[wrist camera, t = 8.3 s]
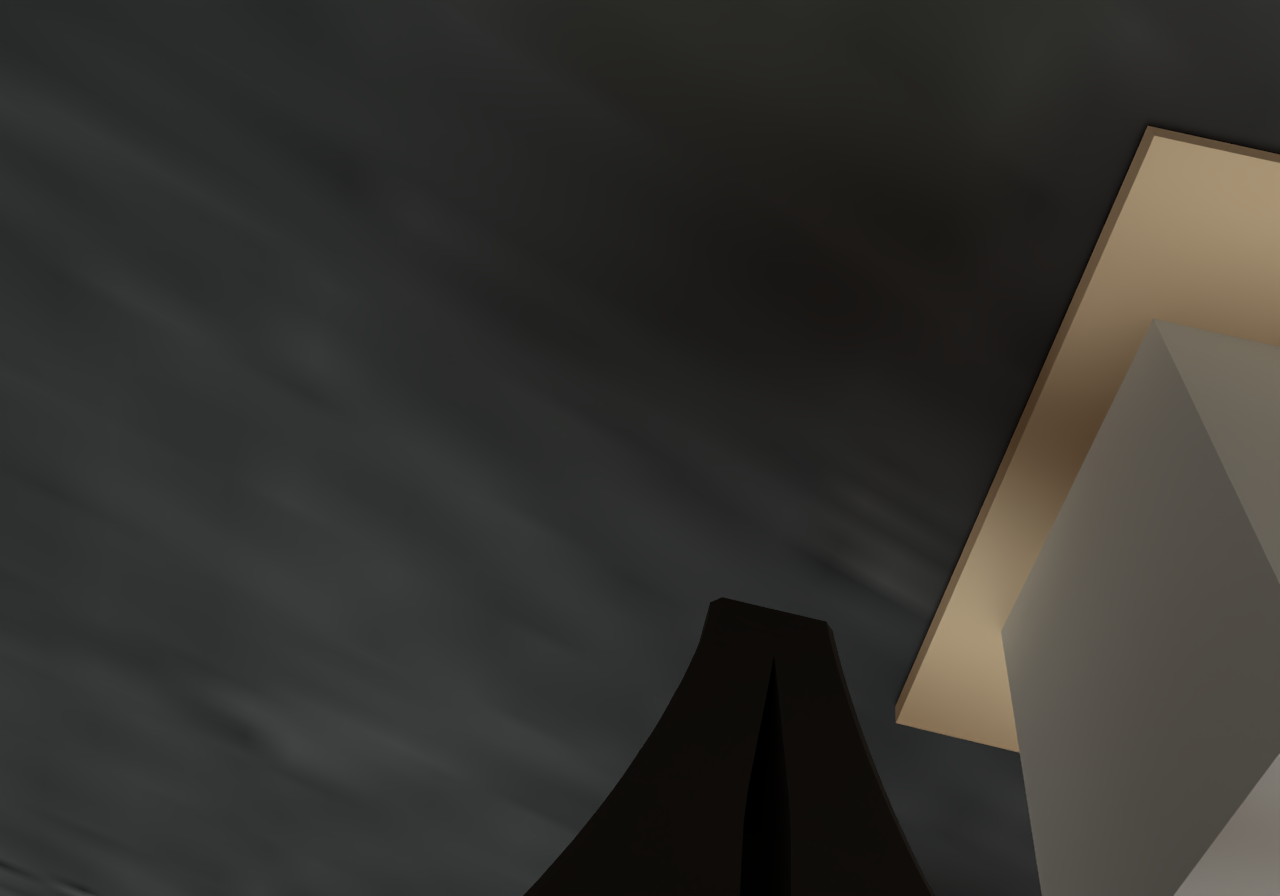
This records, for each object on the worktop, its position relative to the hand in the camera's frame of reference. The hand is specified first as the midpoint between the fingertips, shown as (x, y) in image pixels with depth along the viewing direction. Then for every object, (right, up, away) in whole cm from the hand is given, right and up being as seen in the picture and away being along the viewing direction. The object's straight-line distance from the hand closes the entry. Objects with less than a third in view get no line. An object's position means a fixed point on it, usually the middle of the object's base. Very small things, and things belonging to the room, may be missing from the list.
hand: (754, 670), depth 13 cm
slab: (+7, +2, +4) cm, 8 cm away
